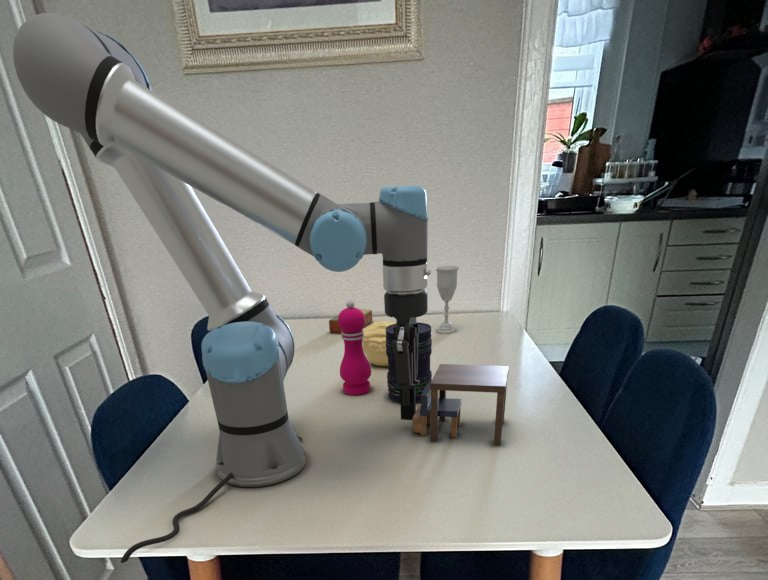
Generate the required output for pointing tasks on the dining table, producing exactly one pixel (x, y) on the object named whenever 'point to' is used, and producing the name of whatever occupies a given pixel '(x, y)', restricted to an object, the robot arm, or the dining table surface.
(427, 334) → the dark blue barrel
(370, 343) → the sculpture
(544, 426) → the dining table surface
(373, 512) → the dining table surface
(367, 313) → the carton
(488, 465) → the dining table surface
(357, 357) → the pepper mill
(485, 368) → the little table
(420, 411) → the blue toy chair
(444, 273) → the chalice
